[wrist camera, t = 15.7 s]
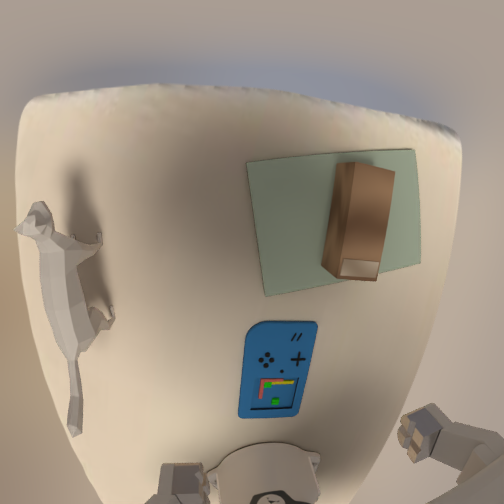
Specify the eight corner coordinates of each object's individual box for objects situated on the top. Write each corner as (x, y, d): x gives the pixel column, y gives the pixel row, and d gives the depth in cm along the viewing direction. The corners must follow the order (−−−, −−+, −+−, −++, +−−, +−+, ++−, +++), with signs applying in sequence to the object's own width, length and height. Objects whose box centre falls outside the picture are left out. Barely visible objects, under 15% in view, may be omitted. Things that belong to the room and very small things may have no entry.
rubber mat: (417, 262, 35) (420, 263, 34) (264, 294, 33) (265, 296, 32) (412, 150, 31) (415, 149, 30) (246, 162, 29) (246, 162, 29)
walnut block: (336, 163, 30) (356, 161, 25) (373, 171, 31) (396, 171, 26) (320, 265, 32) (337, 279, 28) (357, 268, 33) (376, 281, 28)
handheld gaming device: (319, 324, 34) (297, 417, 37) (316, 320, 35) (296, 412, 38) (247, 323, 33) (238, 420, 36) (246, 319, 34) (237, 414, 37)
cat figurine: (100, 191, 28) (26, 204, 15) (127, 361, 33) (96, 445, 19) (65, 196, 28) (-18, 212, 14) (95, 360, 32) (55, 438, 19)
